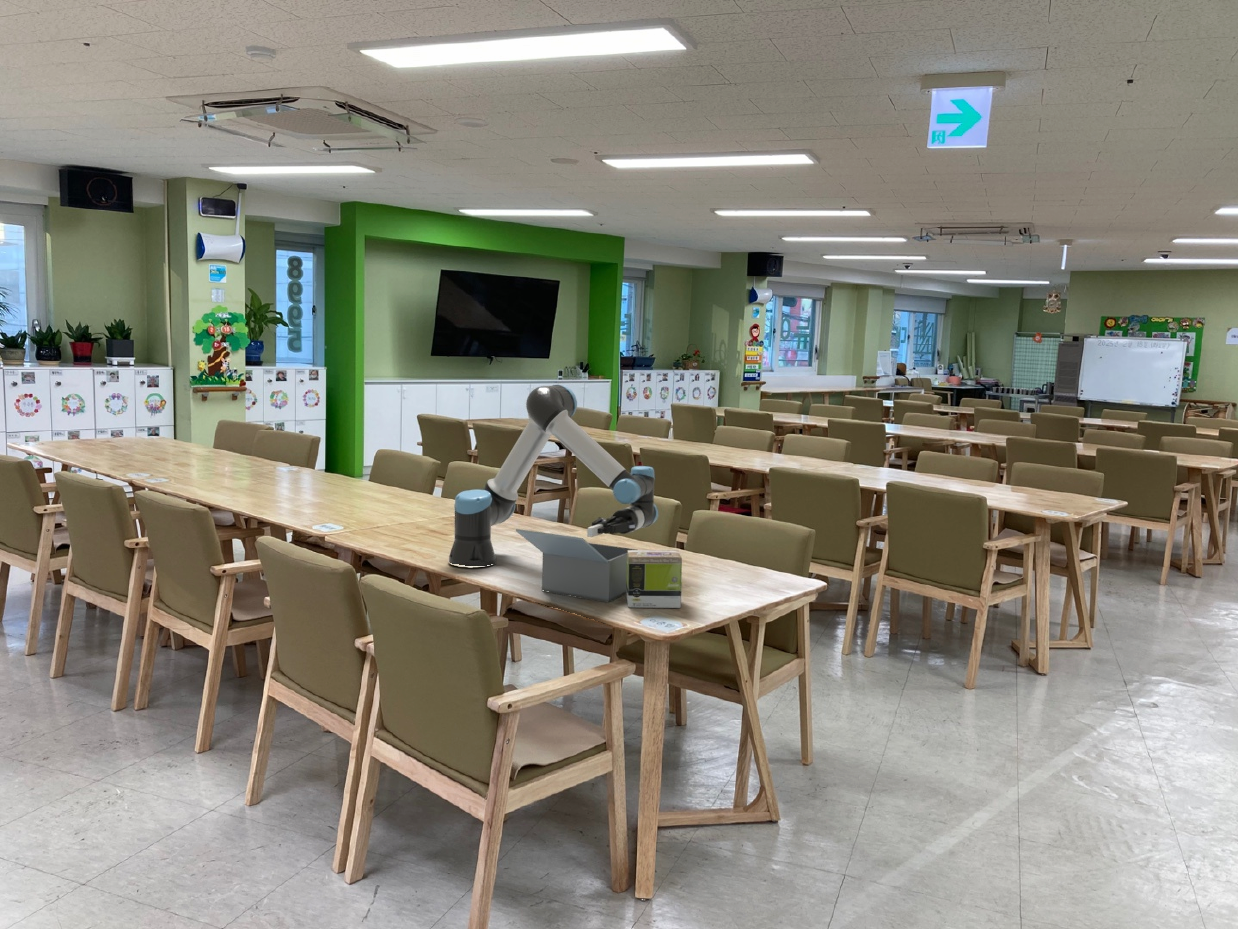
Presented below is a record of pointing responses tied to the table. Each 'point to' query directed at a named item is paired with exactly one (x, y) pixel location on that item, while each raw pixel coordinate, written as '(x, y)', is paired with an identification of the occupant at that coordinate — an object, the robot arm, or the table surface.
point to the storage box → (587, 574)
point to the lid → (562, 545)
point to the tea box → (654, 578)
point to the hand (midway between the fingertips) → (589, 532)
